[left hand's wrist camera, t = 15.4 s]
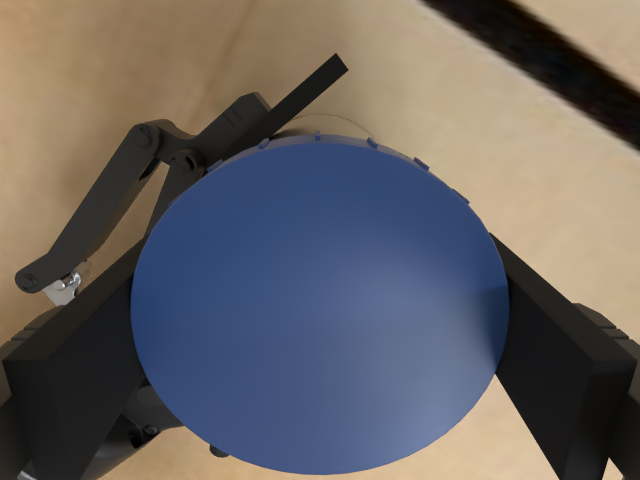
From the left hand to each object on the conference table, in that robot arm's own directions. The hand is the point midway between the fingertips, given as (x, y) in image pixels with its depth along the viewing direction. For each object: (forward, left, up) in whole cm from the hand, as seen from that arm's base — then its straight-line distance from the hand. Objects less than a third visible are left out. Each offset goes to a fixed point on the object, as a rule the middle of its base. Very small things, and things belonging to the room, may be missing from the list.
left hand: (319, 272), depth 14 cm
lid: (0, 0, +3) cm, 3 cm away
